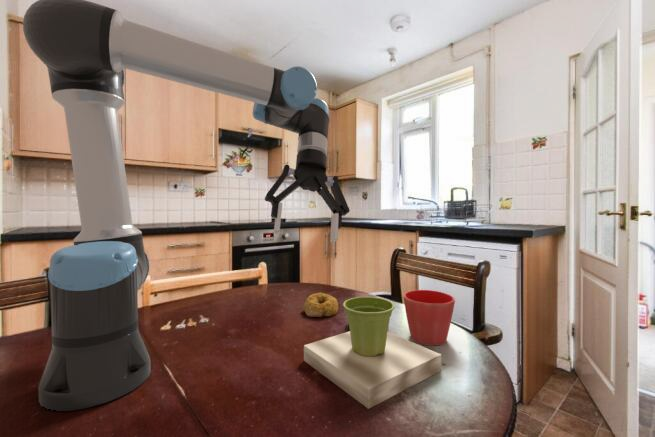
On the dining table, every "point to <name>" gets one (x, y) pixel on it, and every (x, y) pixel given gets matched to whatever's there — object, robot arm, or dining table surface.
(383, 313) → the plant pot
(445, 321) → the flower pot
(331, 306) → the bagel
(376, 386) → the plinth
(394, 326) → the dining table surface
